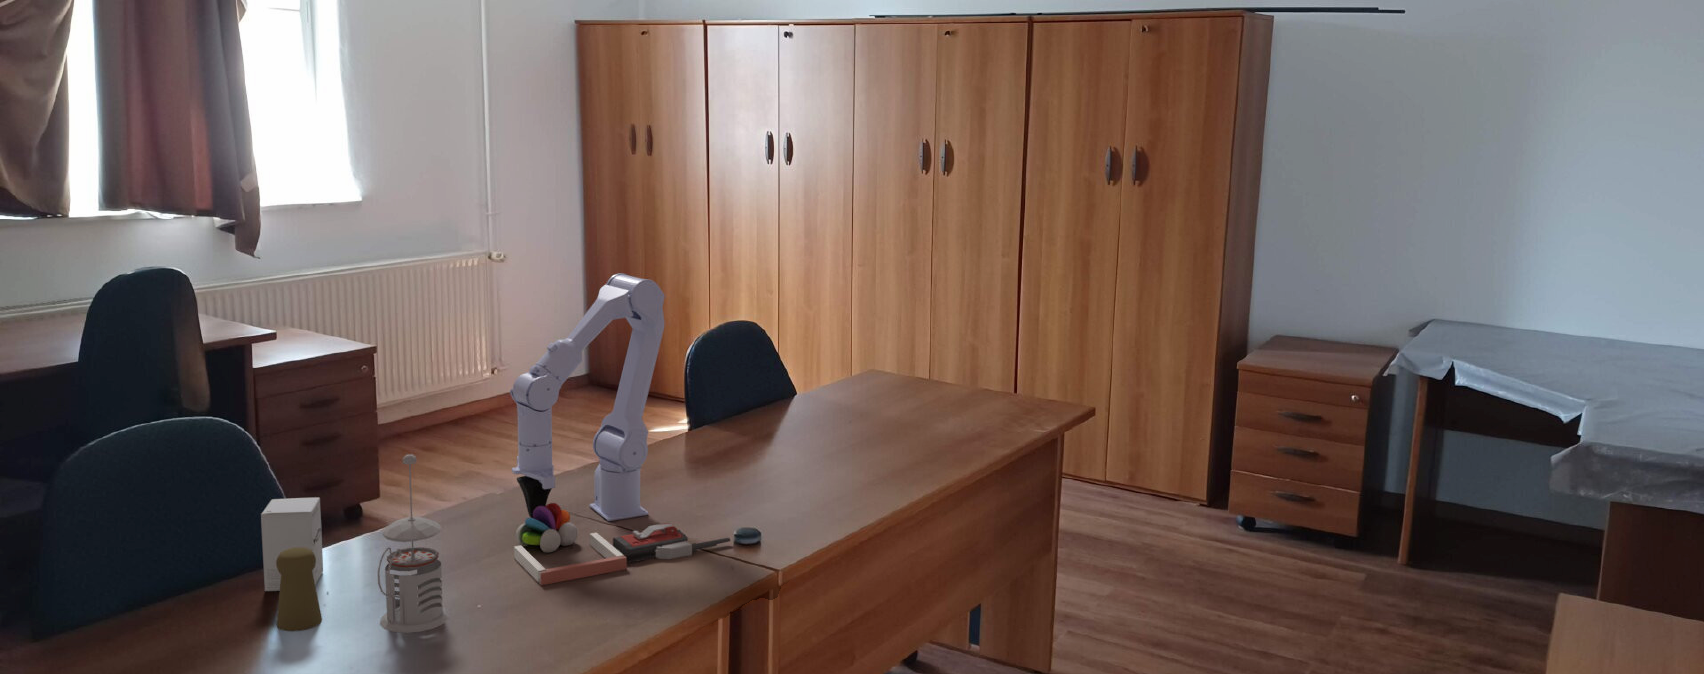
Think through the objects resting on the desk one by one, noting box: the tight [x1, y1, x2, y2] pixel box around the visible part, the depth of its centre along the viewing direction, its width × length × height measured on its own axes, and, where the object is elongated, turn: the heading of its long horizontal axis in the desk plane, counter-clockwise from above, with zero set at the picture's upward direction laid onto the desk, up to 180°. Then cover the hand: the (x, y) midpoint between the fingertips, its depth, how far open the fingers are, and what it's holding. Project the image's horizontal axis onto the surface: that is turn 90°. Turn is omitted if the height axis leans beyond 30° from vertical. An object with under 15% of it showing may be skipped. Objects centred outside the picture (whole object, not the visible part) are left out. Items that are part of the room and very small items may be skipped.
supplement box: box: [260, 497, 324, 592], centre depth 193 cm, size 7×7×13 cm
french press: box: [377, 454, 451, 634], centre depth 179 cm, size 10×12×25 cm
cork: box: [276, 547, 323, 632], centre depth 179 cm, size 6×6×11 cm
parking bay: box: [513, 532, 628, 586], centre depth 205 cm, size 13×14×2 cm
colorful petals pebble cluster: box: [515, 502, 579, 554], centre depth 213 cm, size 8×10×7 cm
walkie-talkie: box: [612, 522, 731, 563], centre depth 213 cm, size 9×4×20 cm
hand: (536, 516), depth 218 cm, fingers closed
